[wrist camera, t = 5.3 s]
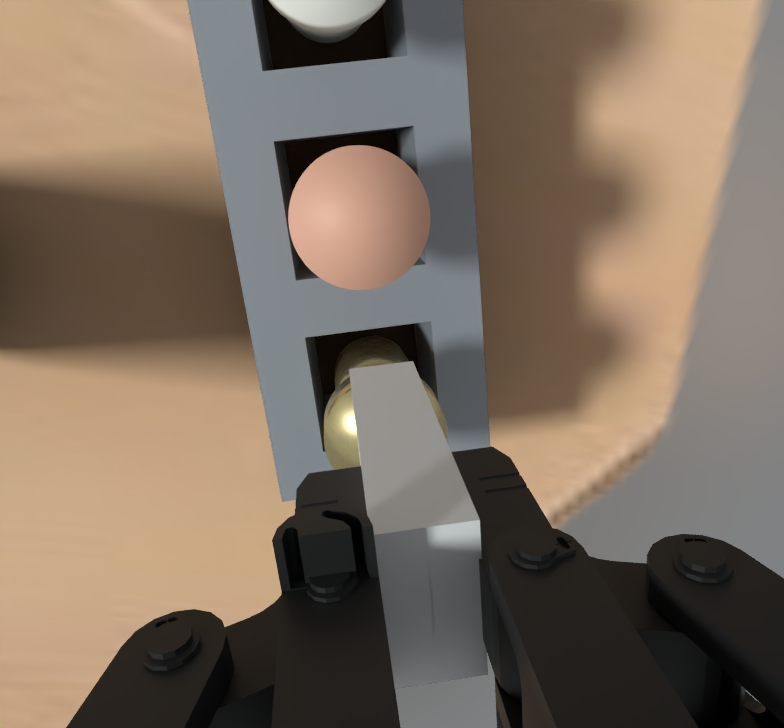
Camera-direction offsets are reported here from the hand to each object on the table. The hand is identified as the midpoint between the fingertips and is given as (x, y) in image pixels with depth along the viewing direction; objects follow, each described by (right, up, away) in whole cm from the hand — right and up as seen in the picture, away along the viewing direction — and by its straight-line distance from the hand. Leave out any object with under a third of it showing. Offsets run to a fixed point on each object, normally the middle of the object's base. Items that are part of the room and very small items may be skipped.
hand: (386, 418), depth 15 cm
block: (-2, +10, +17) cm, 20 cm away
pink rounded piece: (-2, +8, +12) cm, 15 cm away
